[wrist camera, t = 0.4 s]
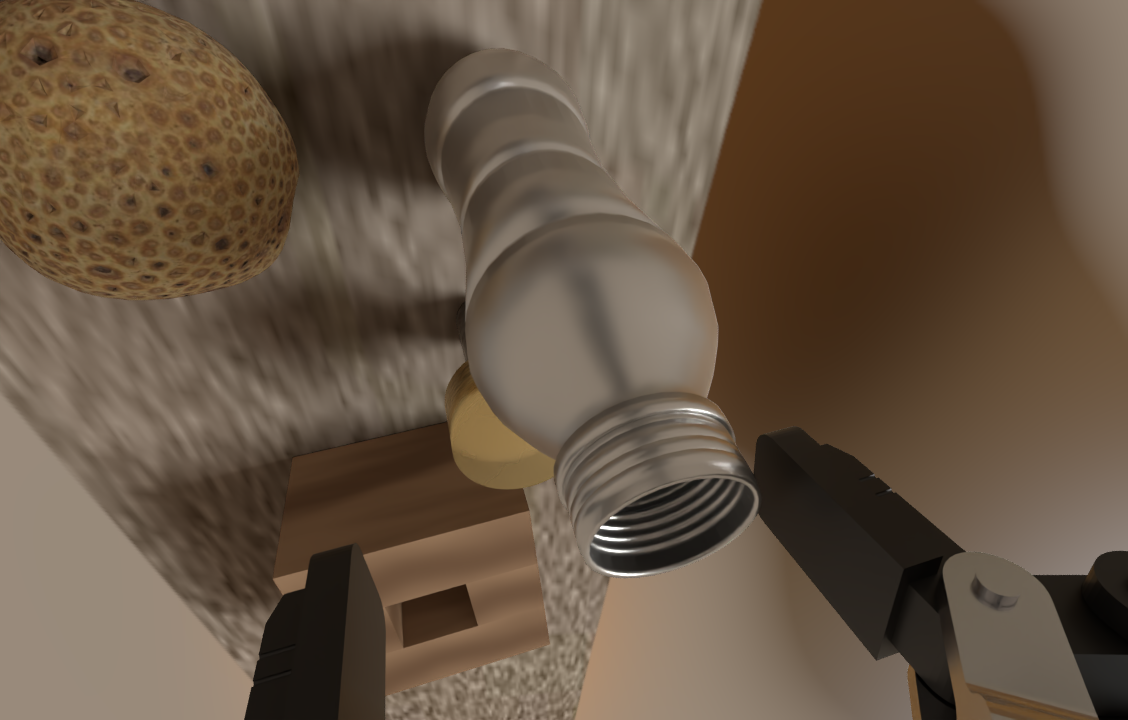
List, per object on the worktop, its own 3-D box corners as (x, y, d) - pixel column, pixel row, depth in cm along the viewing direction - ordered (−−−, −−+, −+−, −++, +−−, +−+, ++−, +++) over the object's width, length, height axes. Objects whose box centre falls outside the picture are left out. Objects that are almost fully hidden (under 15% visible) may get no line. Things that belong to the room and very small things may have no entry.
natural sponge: (357, 191, 25) (349, 293, 17) (168, 270, 24) (69, 412, 16) (218, -53, 19) (107, -71, 11) (-30, 46, 19) (-323, 99, 11)
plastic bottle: (522, -4, 21) (813, 342, 7) (593, 143, 26) (851, 519, 12) (385, 91, 22) (416, 546, 8) (478, 215, 27) (595, 635, 13)
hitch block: (292, 457, 32) (272, 579, 25) (500, 410, 34) (529, 510, 27) (357, 587, 39) (353, 705, 33) (522, 541, 41) (549, 644, 35)
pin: (420, 282, 28) (439, 401, 20) (529, 262, 29) (586, 368, 21) (442, 371, 31) (465, 503, 23) (539, 350, 32) (591, 470, 24)
